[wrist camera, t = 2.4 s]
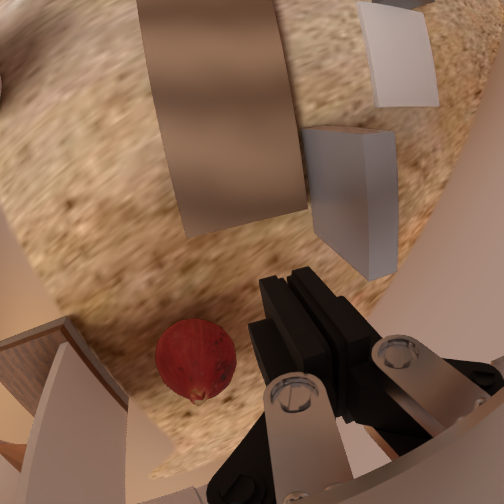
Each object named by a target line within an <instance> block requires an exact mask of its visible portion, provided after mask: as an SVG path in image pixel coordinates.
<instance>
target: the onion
mask: <svg viewBox="0 0 504 504" xmlns="http://www.w3.org/2000/svg"><path fill="white" fill-rule="evenodd" d="M155 362H156V366H157V369H158V371H159V373H160V376H161V378H162V380H163V382H164V383H165V384H166V385H167V386H168V387H169V388H170V389H172V390H173V391H174V392H175V393H177V394H178V395H181V396H183V397H185V398H187V399H190V401H191V402H192V403H193V404H195V405H197V406H200V405H201V404H203V403H204V402H205V401H206V400H207V399H210V398H212V397H215V396H216V395H218V394H219V393H220V392H221V391H223V390H224V389H225V388H226V387H227V386H228V385H229V383H230V381H231V379H232V377H233V374H234V371H235V368H236V364H237V362H236V353H235V347H234V343H233V341H232V339H231V337H230V336H229V335H228V334H227V333H226V332H225V331H224V329H223V328H222V327H221V326H218V325H216V324H214V323H211V322H209V321H206V320H202V319H186V320H181V321H179V322H177V323H175V324H173V325H172V326H170V327H169V328H168V329H167V330H165V332H164V333H163V334H162V336H161V337H160V338H159V340H158V342H157V347H156V356H155Z"/></svg>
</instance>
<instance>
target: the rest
mask: <svg viewBox="0 0 504 504" xmlns="http://www.w3.org/2000/svg"><path fill="white" fill-rule="evenodd" d="M136 1H137V8H138V15H139V22H140V28H141V34H142V40H143V46H144V52H145V58H146V63H147V69H148V74H149V79H150V84H151V90H152V95H153V100H154V104H155V109H156V114H157V119H158V123H159V128H160V132H161V137H162V141H163V146H164V150H165V154H166V159H167V163H168V167H169V171H170V175H171V180H172V184H173V188H174V192H175V196H176V199H177V203H178V207H179V211H180V215H181V219H182V222H183V226H184V230H185V233H186V237H187V239H188V238H192V237H196V236H199V235H203V234H207V233H211V232H215V231H219V230H223V229H227V228H231V227H235V226H239V225H243V224H247V223H251V222H255V221H259V220H263V219H268V218H272V217H276V216H280V215H284V214H289V213H293V212H297V211H301V210H306V209H308V205H307V197H306V189H305V181H304V174H303V166H302V159H301V152H300V146H299V139H298V132H297V126H296V120H295V114H294V108H293V102H292V96H291V90H290V85H289V79H288V74H287V69H286V64H285V58H284V53H283V48H282V44H281V39H280V34H279V29H278V25H277V20H276V16H275V11H274V7H273V3H272V0H136Z"/></svg>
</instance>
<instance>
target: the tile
mask: <svg viewBox="0 0 504 504" xmlns="http://www.w3.org/2000/svg"><path fill="white" fill-rule="evenodd" d="M301 133H302V140H303V146H304V153H305V161H306V168H307V175H308V183H309V191H310V199H311V208H312V217H313V226H314V233H315V234H316V235H317V236H318V237H319V238H320V239H322V240H323V241H324V242H325V243H326V244H327V245H328V246H330V247H331V248H332V249H333V250H334V251H335V252H336V253H338V254H339V255H340V256H341V257H342V258H343V259H344V260H345V261H347V262H348V263H349V264H350V265H351V266H352V267H353V268H354V269H355V270H357V271H358V272H359V273H360V274H361V275H362V276H363V277H364V278H365V279H366V280H368V281H372V280H375V279H378V278H381V277H384V276H386V275H389V274H392V273H395V272H397V257H398V173H397V155H396V142H395V131H387V130H378V129H369V128H358V127H346V126H332V125H324V126H316V127H308V128H301Z"/></svg>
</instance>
